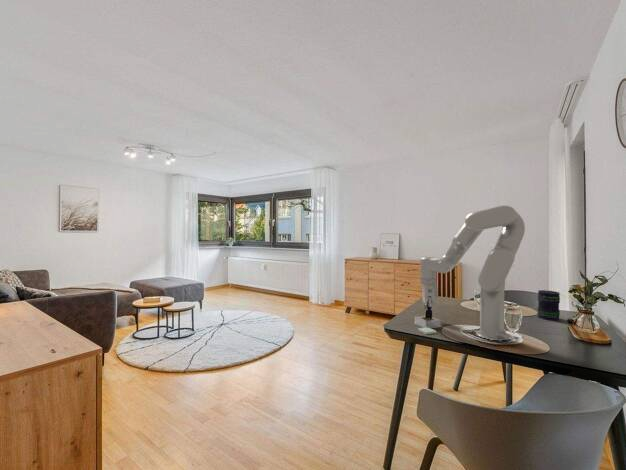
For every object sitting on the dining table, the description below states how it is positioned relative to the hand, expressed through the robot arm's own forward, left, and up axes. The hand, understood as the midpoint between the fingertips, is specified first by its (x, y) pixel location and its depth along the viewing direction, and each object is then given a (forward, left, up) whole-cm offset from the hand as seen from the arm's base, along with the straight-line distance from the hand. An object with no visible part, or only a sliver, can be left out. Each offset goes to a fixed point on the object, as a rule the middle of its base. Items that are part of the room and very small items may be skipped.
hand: (428, 316), depth 155 cm
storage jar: (-9, -75, -5) cm, 75 cm away
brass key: (0, 0, -3) cm, 3 cm away
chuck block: (+2, 0, -5) cm, 5 cm away
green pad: (-8, +7, -5) cm, 12 cm away
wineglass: (+9, -9, -5) cm, 14 cm away
